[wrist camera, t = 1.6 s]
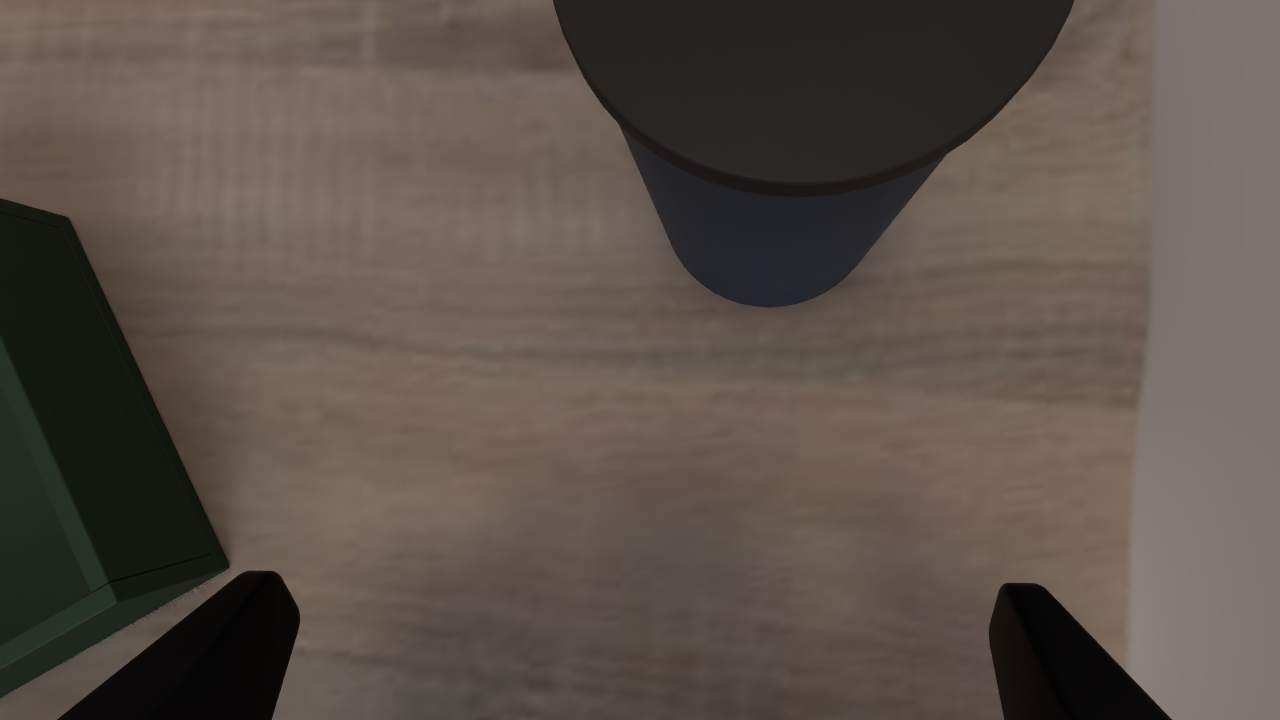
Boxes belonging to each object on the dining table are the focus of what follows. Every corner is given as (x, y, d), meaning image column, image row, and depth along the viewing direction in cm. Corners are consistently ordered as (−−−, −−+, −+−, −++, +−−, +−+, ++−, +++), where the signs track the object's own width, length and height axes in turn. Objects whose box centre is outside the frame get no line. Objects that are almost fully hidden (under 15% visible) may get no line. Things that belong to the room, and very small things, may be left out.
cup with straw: (931, 240, 22) (1729, -458, 4) (725, 355, 23) (665, 166, 5) (812, 47, 23) (1065, -1231, 5) (617, 163, 24) (217, -614, 6)
